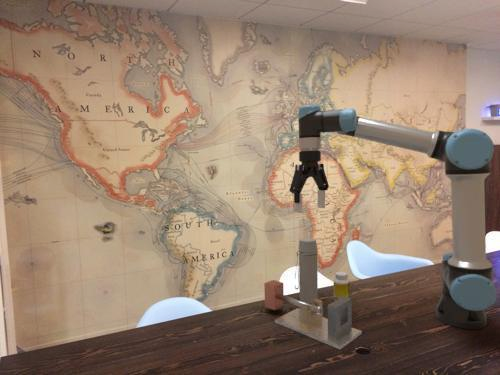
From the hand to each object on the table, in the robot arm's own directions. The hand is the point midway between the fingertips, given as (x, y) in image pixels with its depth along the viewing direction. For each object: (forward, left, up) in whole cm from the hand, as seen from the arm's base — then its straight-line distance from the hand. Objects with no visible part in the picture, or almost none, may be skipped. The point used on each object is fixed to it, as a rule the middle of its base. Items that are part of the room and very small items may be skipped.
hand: (310, 210), depth 126 cm
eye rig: (-7, +7, -39) cm, 40 cm away
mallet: (+3, +7, -37) cm, 37 cm away
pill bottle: (-1, -19, -39) cm, 43 cm away
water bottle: (+9, -9, -39) cm, 41 cm away
